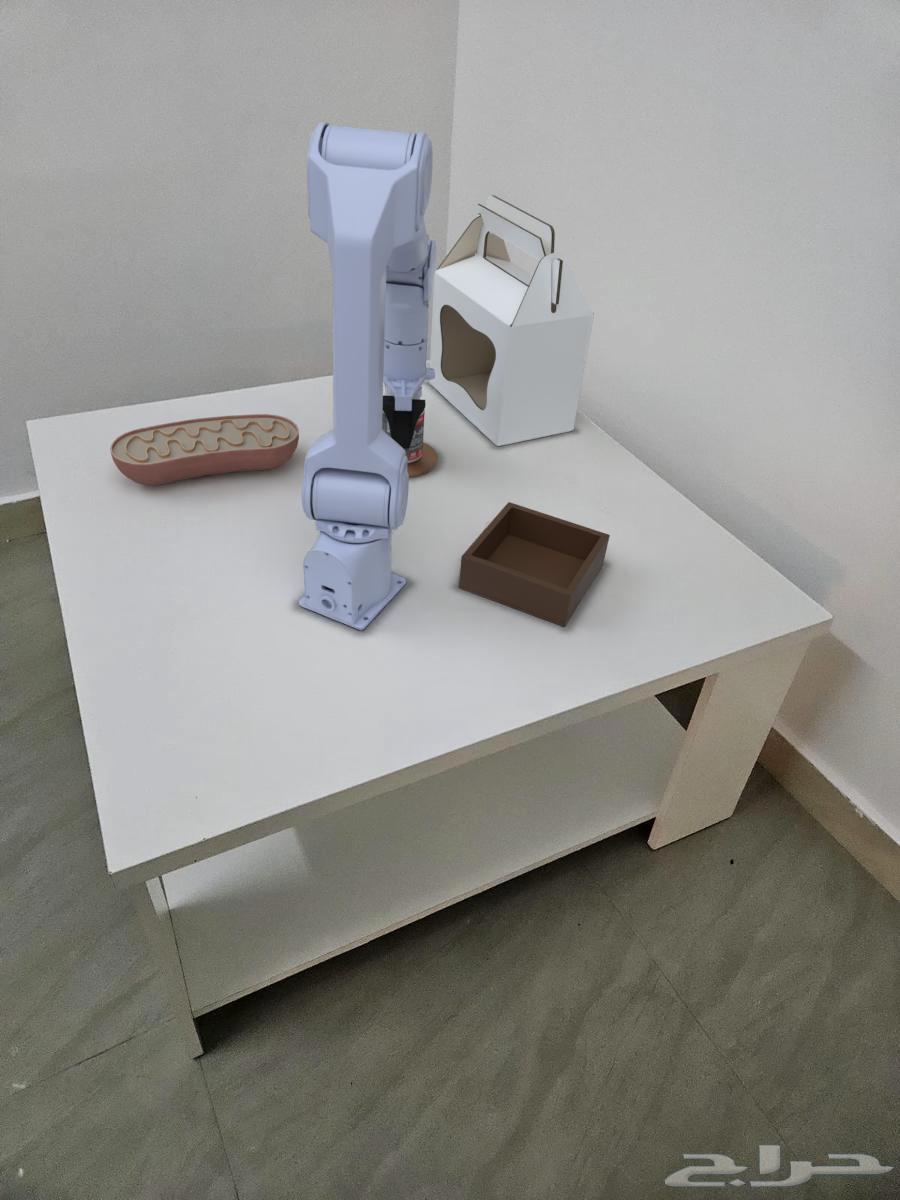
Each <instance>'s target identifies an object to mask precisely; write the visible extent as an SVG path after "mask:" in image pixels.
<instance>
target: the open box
mask: <svg viewBox="0 0 900 1200" xmlns="http://www.w3.org/2000/svg"><path fill="white" fill-rule="evenodd" d="M478 535H479V536H478V537H477V538H476V539H475V540H474V541H473V542H472V543H471V545H470V546H468V548H467V549H466V550H465V551H464V553H463V554H462V555H461V557H460V567H459V578H458V579H459V580H458V589H460V590H463V591H466V592H469V593H471V594H474V595H476V596H479V597H482V598H485V599H488V600H490V601H493V602H495V603H498V604H501V605H504V606H507V607H509V608H512V609H515V610H517V611H519V612H523V613H526V614H528V615H531V616H533V617H536V618H539V619H542V620H543V621H547V622H550V623H552V624H554V625H558V626H561V627H563V628H565V627H566V626H567V624H568V623H569V621H570V619H571V618H572V617H573V615H574V613H575V611H576V610H577V608H578V606H579V605H580V603H581V602H582V599H583V598H584V596H585V595H586V593H587V592H588V590H589V589H590V587H591V585H592V584H593V582H594V580H595V579H596V578H597V576H598V574H599V573H600V571H601V570H602V568H603V566H604V562H605V557H606V554H607V549H608V544H609V541H610V537H611V535H610V534H609V533H606V532H602V531H599V530H596V529H593V528H591V527H588V526H584V525H581V524H578V523H576V522H575V523H574V522H571V521H569V520H565V519H563V518H559V517H558V516H557V517H556V516H553V515H550V514H547V513H545V512H542V511H538V510H535V509H532V508H529V507H526V506H522V505H519V504H517V503H514V502H510V501H508V502H507V503H506V505H504V506H503V508H502V509H501V510H500V511H499V512H498V513H497V515H495V517H494V518H493V519H492V520H491V522H490V523H489V524H488V525H487V526H486V527H485V528H484V530H483V531H482V532H481V533H480V534H478Z"/></svg>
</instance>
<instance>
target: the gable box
mask: <svg viewBox="0 0 900 1200" xmlns="http://www.w3.org/2000/svg"><path fill="white" fill-rule="evenodd" d="M477 208H478V210H479V213H476V217H475V218H474V219H473V220H471V222H470V223H469V224H468V226H467V227H466V229H465V230H464V231H463V232H462V234H461V235H460V237H459V238H458V240H457V241H456V242H455V244H454V245H453V246H452V248H451V249H450V251H449V252H448V254H447V255H446V256H445V257H444V259H443V260H442V261H441V263H440V265H438V267H437V269H435V274H434V278H433V290H432V293H433V294H432V314H431V333H430V334H431V337H430V355H429V368H433V369H434V370H435V378H434V379H432V380H428V383H429V385H431V386H432V387H433V388H434V389H435V390H436V391H438V393H440V394H441V395H442V396H443V398H445V399H446V400H447V401H448V402H449V403H450V404H451V405H452V406H453V407H455V409H456V410H458V411H459V412H460V413H461V414H462V415H463V416H464V417H465V418H466V419H467V420H468V421H469V422H470V423H471V424H473V425H474V426H475V428H477V429H478V430H479V431H480V432H481V433H482V434H483V435H484V436H485V437H487V438H488V439H489V441H491V442H492V443H493V444H494V445H495V446H496V447H502V446H506V445H511V444H517V443H520V442H524V441H525V442H526V441H530V440H535V439H540V438H545V437H549V436H555V435H559V434H563V433H568V432H573V431H574V429H575V424H576V419H577V414H578V407H579V402H580V397H581V391H582V384H583V379H584V373H585V367H586V362H587V356H588V351H589V345H590V339H591V334H592V329H593V322H594V316H595V313H594V312H593V310H592V308H591V305H590V303H589V302H588V300H587V298H586V296H585V294H584V292H583V289H582V287H581V285H580V283H579V281H578V279H577V277H576V275H575V273H574V271H573V268H572V267H571V265H570V262H569V260H568V259H567V258H566V256H564V255H563V254H561V253H559V252H555V240H556V238H555V237H556V234H555V233H556V232H555V229H554V226H552V225H551V224H550V223H547V222H546V221H544V220H542V219H540V218H538V217H536V216H534V215H533V214H531V213H529V212H527V211H525V210H522V209H521V208H519V207H517V206H516V205H513V204H512V203H510V202H508V201H506V200H504V199H502V198H500V197H498V196H497V195H495V194H491V195H489V196H488V197H487V200H486V205H485V206H484V205H483V204H481V203H478V204H477ZM505 242H507V243H508V244H510V245H512V246H513V247H515V248H516V249H518V250H520V251H521V252H523V253H524V254H527V255H528V256H530V257H531V258H533V259H534V260H537V261H538V264H537V266H536V268H535V269H534V272H533V274H532V273H530V272H529V271H526V270H525V269H523V268H522V267H520V266H518V264H516V263H514V262H511V259H510V256H509V252H508V249H507V246H506V243H505Z"/></svg>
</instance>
